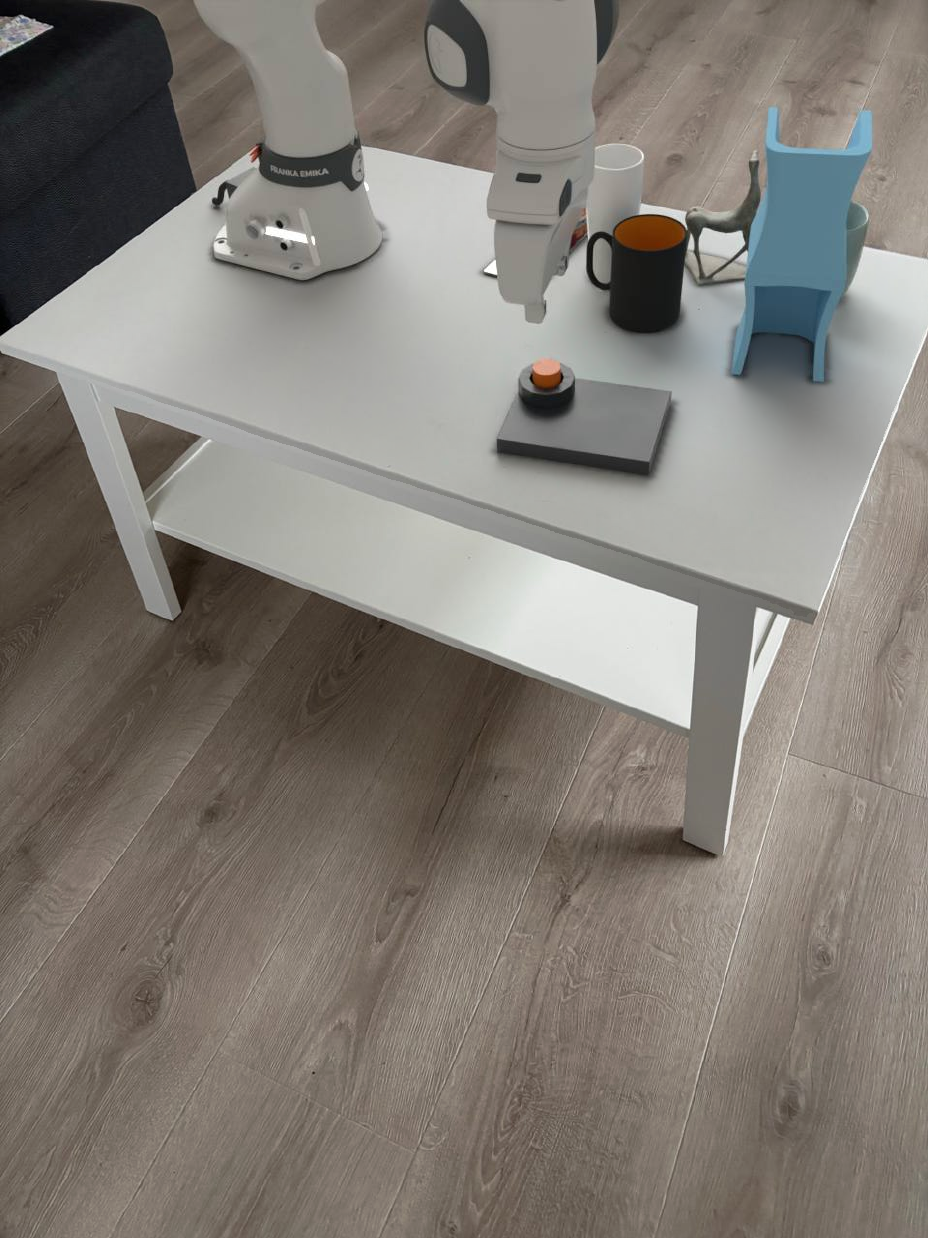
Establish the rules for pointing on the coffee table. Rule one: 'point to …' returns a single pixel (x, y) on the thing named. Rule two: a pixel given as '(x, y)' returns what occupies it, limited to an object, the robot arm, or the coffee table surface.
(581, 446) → the dark grey flat block
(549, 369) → the button
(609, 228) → the drinking glass
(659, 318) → the mug
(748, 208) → the figurine
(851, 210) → the cup
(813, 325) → the blue toy chair
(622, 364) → the coffee table surface
